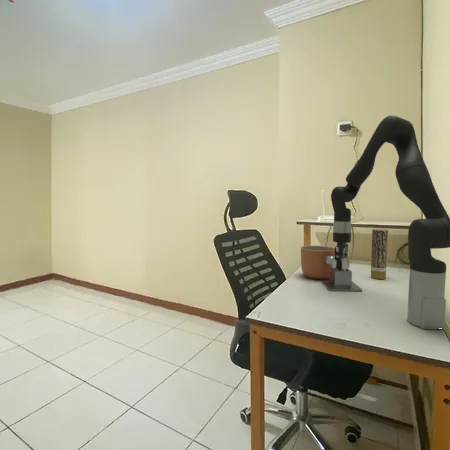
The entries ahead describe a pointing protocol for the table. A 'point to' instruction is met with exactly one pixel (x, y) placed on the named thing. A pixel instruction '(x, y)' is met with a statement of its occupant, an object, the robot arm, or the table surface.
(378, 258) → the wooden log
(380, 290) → the table surface
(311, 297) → the table surface
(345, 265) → the silver block with cylinder
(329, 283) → the duct socket
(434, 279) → the robot arm
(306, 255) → the planter
